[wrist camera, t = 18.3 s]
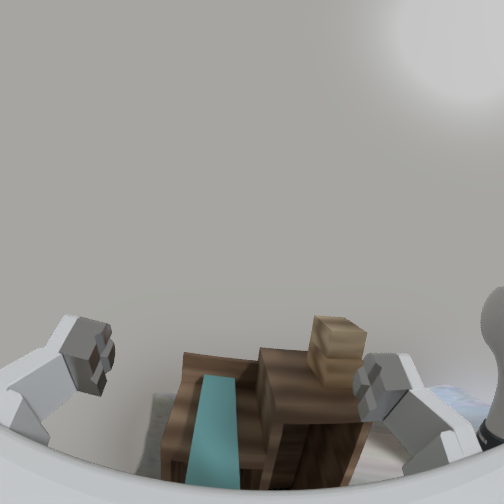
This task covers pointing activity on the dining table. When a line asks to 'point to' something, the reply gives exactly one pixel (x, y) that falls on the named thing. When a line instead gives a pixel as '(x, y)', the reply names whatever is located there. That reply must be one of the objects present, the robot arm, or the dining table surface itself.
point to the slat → (215, 437)
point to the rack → (282, 411)
